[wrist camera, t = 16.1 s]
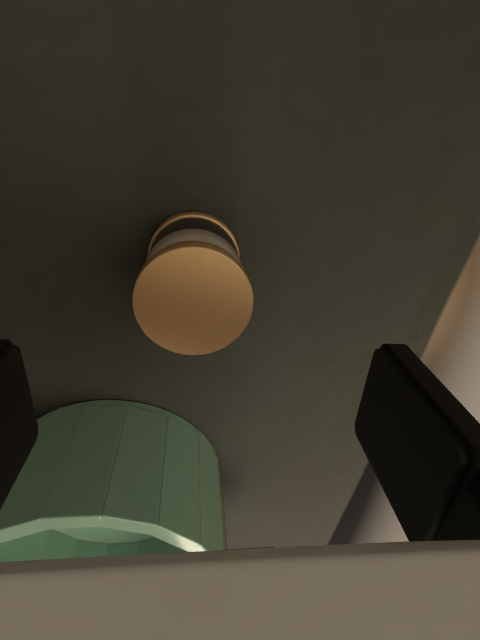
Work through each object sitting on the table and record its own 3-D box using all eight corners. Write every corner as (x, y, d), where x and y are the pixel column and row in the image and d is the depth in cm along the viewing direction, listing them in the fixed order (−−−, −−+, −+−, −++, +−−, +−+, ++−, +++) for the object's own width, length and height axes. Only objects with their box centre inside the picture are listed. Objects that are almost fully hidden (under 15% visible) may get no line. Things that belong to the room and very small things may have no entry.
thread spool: (147, 208, 17) (128, 244, 12) (241, 212, 18) (258, 249, 13) (151, 295, 19) (135, 355, 15) (235, 297, 20) (248, 355, 15)
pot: (-72, 401, 21) (-194, 530, 14) (268, 397, 23) (297, 506, 17) (-12, 550, 28) (-76, 686, 21) (250, 535, 30) (265, 652, 23)
